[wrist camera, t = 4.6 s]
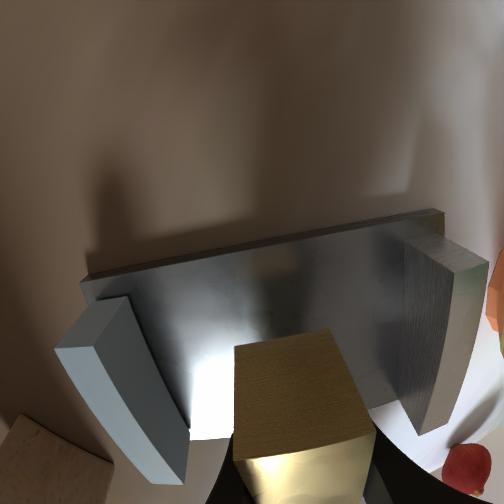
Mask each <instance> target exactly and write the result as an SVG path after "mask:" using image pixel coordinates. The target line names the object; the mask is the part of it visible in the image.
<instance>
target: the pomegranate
mask: <svg viewBox="0 0 504 504" xmlns="http://www.w3.org/2000/svg"><path fill="white" fill-rule="evenodd" d="M490 471H491V456H490V453H489V452H488V450H487V449H486V448H485V447H484V446H482V445H479V444H476V443H469V444H456V445H454V446H452V448H451V449H450V451H449V454H448V456H447V458H446V461H445V463H444V465H443V468H442V474H441V475H442V480H443V482H444V483H445V484H447V485H449V486H451V487H453V488H455V489H457V490H459V491H461V492H463V493H465V494H473V495H475V496H476V497H479V496H480V495H482V494H483V492H484V485H485V483H486V481H487V479H488V477H489V474H490Z"/></svg>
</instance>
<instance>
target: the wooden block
mask: <svg viewBox="0 0 504 504" xmlns="http://www.w3.org/2000/svg"><path fill="white" fill-rule="evenodd" d="M114 470H115V469H114V465H113V464H112V463H110V462H107V461H105V460H103V459H101V458H99V457H97V456H94V455H92V454H90V453H88V452H86V451H84V450H82V449H80V448H78V447H77V446H75V445H73V444H71V443H69V442H67V441H65V440H64V439H62V438H60V437H58V436H57V435H55V434H53V433H52V432H50V431H48V430H47V429H45V428H43V427H42V426H40V425H39V424H37V423H36V422H34V421H32V420H31V419H29V418H28V417H26V416H25V415H23V414H21V415H19V416H18V418H17V419H16V421H15V423H14V424H13V426H12V428H11V429H10V431H9V432H8V434H7V436H6V438H5V439H4V441H3V443H2V444H1V446H0V504H105V501H106V497H107V494H108V490H109V487H110V483H111V480H112V477H113V473H114Z"/></svg>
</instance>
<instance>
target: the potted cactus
mask: <svg viewBox="0 0 504 504" xmlns="http://www.w3.org/2000/svg"><path fill="white" fill-rule="evenodd" d="M486 316H487V318H488V320H489V322H490V324H491V326H492V329H493V330H495V331H497V332H499V340H500V349H501V353H502V355H503V358H504V248H503V250H502V251H501V253H500V255H499V258H498V261H497V264H496V267H495V270H494V272H493V275H492V278H491V280H490V283H489V286H488V297H487V307H486Z"/></svg>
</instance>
